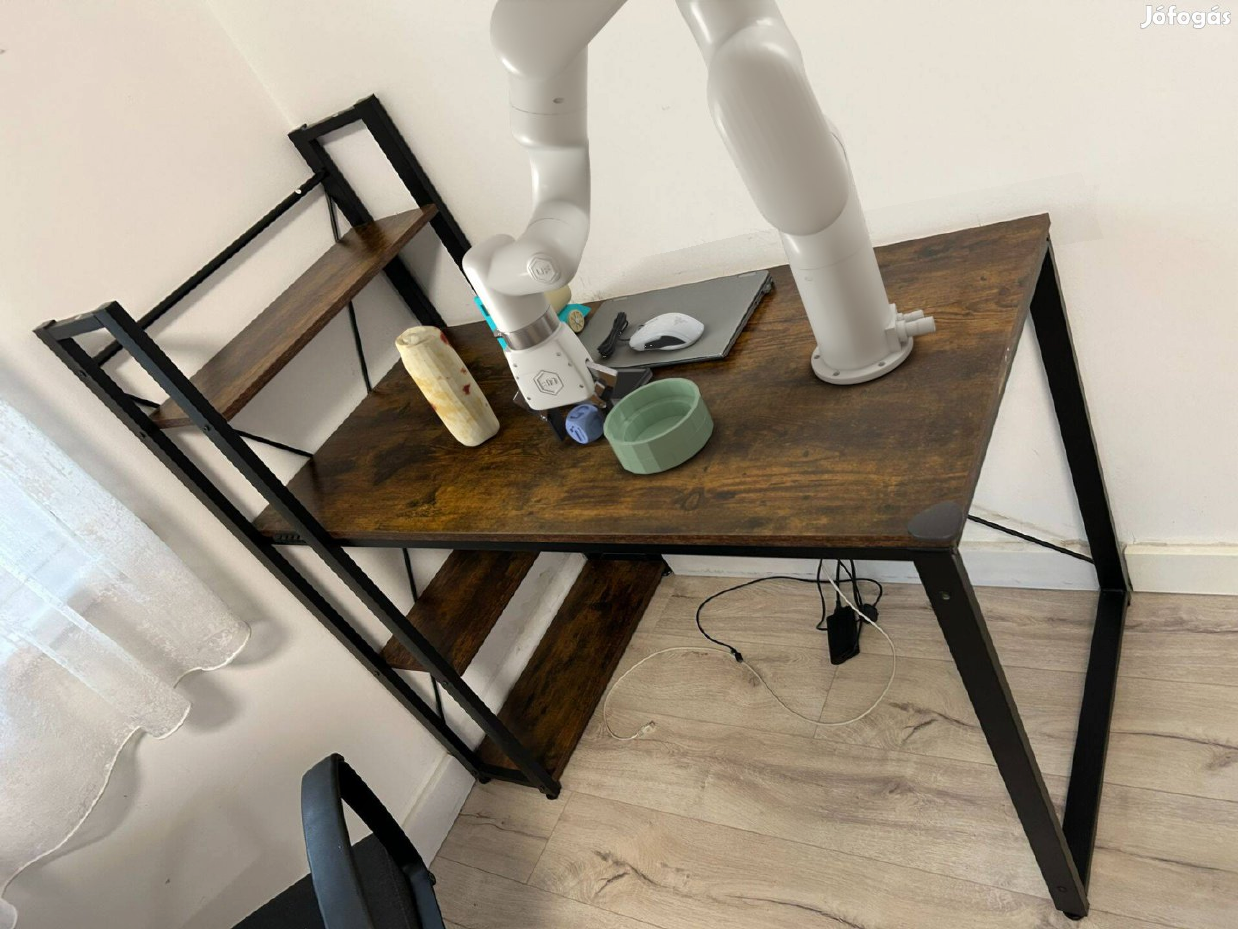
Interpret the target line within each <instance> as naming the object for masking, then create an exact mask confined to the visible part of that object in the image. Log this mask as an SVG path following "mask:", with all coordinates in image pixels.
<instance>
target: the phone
mask: <svg viewBox="0 0 1238 929" xmlns="http://www.w3.org/2000/svg"><path fill="white" fill-rule="evenodd" d="M607 367H608V368H611V369H614V370H616V371H618V373H619V374H618V378H617V381H616V384H615V388H614V390H613V393H612V395H611V397H610V400H611V401H612V403H613V405H614V406H615V405H616V404H617V403H618V402H619V401H621V400H622V399H623V398H624V397H625V396H627V395H628V394H630V393H632V392H633V391H635V390H637V389H638V388H640V387H642V386H645V385H647V384H649V382H650V380H651V379H652V378H653V376H654V374H653V372H652V370H651V368H650V367H649V366H607ZM598 382H599V383H600V384H602V385H603V386H604V387H605V385H606V381H605V380H604V379H601V378H599V380H598ZM594 392H595V393H597V392H596V391H594ZM597 394H598V393H597ZM598 395H599V396H601V395H600V394H598ZM583 404H589V405H592V406H597V405H596V404H595V403H593V402H592V401H590V400H589V399H587V400H584V401H581V402H577V403H573V404H572V405H577V406H580V405H583Z"/></svg>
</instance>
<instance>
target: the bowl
mask: <svg viewBox="0 0 1238 929" xmlns="http://www.w3.org/2000/svg"><path fill="white" fill-rule="evenodd" d="M713 429H714V421H713V416H712V414H711V412H710V409H709V407H708V405H707V403H706V401H705V398H704V397H703V394H702V392H701V390H700V387H699V386H698V385H697V384H696V383H695V382H693V381H692V380H691V379H687V378H683V377H668V378H663V379H659V380H655V381H652V382H650V383H649V382H648V383H647V384H646V385H645V386H642V387H640V388H638V389H637V390H635V391H633V392H632V393H630V394H628V395H627V396H625V397H624V398H623V399H622V400H621V401H619V402H618V403H617V404H616V405H615V406H614V408H613V409H612V410H611V411H610V413H609V414H608V415H607V418H606V420H605V423H604V431H603V435H604V437H605V439H606V440H607V442H608V444H609V446H610V448H611V449H612V451H613V453H614V455H615V457H616V458H617V460H618V462H619V463H620V465H621V466H622V467H623V469H624V470H627V471H628V472H631V473H632V474H642V475H649V474H655V473H661V472H664V471H667V470H669V469H672V468H676V467H678V466H679V465H681V464H683V463H684V462H686V461H687V460H689V459H692V457H694V456H695V455H696V454H697V453H698V452H699V451H700V450H701V449H702V448H704V447H705V445H706V444H707V442H708V440H709V439H710V437H711V436H712V434H713V433H712V432H713Z"/></svg>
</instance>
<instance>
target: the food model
mask: <svg viewBox="0 0 1238 929" xmlns="http://www.w3.org/2000/svg"><path fill="white" fill-rule="evenodd" d="M395 346H396V348H397V350H398V352H399V353H400V357H401V361H402V363H403V366H404V368H405V369H406V371H407V373H408V374H409V375H410V376H411V378H412V379H413V381H414V382H415V383H416V386H418V388H419V389H420V391H421V393H422V394H423V395H424V397H425V398H426V400H427V401H428V403H429V404H430V406H431V407H432V408H433V410H434V411H435V413H436V414H437V415H438V417H439V418H440V419H441V421H442V423H443V424H444V426H446V428H447V430H448V431H449V432H450V433H451V434H452V436H453V437H454V438H455V439H456V440H457V441H458V442H459V443H461V444H463V445H464V446H466V447H477V446H480V444H482V443H484V442H485V441H487V440H488V439H490V438H492V437H494V436H495V435H497V434H498V432H499V429H500V422H499V419H498V418H497V417H496V415H495V413H494V411H493V409H492V407H491V405H490V404H489V401H488V400H487V398H486V396H485V395H484V393H483V392H482V389H481V388H480V387H479V385H478V383H477V382H476V380H475V378H473V375H472V374H471V373H470V371H469V369H468V368H467V365H465V363H464V361H463V359H461V357H460V356H459V354H458V353H457V352H456V350H455V349H454V348H453V346H452V345H451V343H450V342H449V340H448V339H447V337H446V336H445V334H444V333H443V331H442V330H440V329H439V328H438V327H437V326H433V325H417V326H412V327H409V328H407V329H406V330H404V331H402V333H400V335H398V336H397V337H396V339H395Z"/></svg>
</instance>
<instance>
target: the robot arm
mask: <svg viewBox="0 0 1238 929" xmlns="http://www.w3.org/2000/svg"><path fill="white" fill-rule="evenodd" d="M674 1H675V3H676V6H677V8H678V10H679V12H680V14H681V16H682V18H683V19H684V21H685V23H686V26H688V28H689V30H690V32H691V34H692V37H693V39H694V41H695V43H696V45H697V47H698V49H699V51H700V53H701V55H702V58H703V60H704V63H705V66H706V69H707V81H706V99H707V104H708V109H709V113H710V114H711V118H712V121H713V123H714V126H715V128H716V130H717V133H718V135H719V137H720V138H721V141H722V143H723V145H724V146H725V148H726V151H727V152H728V154H729V156H730V158H731V160H732V162H733V164H734V165H735V168H736V169H737V172H738V173H739V175H740V177H741V179H742V181H743V183H744V185H745V187H746V189H747V191H748V193H749V195H750V197H751V199H752V201H753V203H754V204H755V206H756V208H757V211H759V213H760V214H761V216H762V217H763V219H765V221H766V222H767V223H768V224H770V225H771V227H773V228H775V229H776V230H777V232H778V235H779V239H780V241H781V244H782V248H783V251H784V253H785V256H786V258H787V261H788V262H787V263H788V265H789V268H790V271H791V273H792V276H793V279H794V282H795V284H796V287H797V290H798V293H799V296H800V299H801V301H802V304H803V307H804V310H805V312H806V315H807V319H808V322H809V324H810V327H811V330H812V332H813V335H814V338H815V341H816V344H817V346H816V347H815V349H814V350H813V352H812V355H811V358H810V359H811V360H810V363H811V364H810V365H811V367H812V370H813V372H814V374H815V376H817V377H818V379H820V380H822V381H824V382H825V383H830V384H834V385H853V384H861V383H865V382H868V381H871V380H874V379H877V378H879V377H881V376H884V375H886V374H887V373H890V372H891V371H893V370H894V369H896V368H897V367H899V366H900V365H901V364H902V363H903V362H904V361H905V360H906V359H907V357H908V356H909V355H910V353H911V351H912V350H913V346H914V337H915V336H922V335H927V334H931V333H935V332H937V330H936V323H935V319H934V316H933V315H931V316H926V317H925V314H924V310H923V309H919V310H915V311H912V312H908V313H905V314H904V313H903V312H898V309H897V305H896V303H895V302H894V303H890V302H889V298H888V295H887V291H886V288H885V285H884V282H883V278H882V275H881V271H880V269H879V264H878V261H877V257H876V255H875V251H874V247H873V244H872V240H871V237H870V232H869V228H868V225H867V221H866V218H865V214H864V212H863V208H862V204H861V201H860V197H859V194H858V191H857V187H856V183H855V179H854V176H853V172H852V169H851V165H850V161H849V157H848V154H847V149H846V146H845V143H844V139H843V137H842V134H841V132H840V130H839V129H838V127H837V125H836V124H835V123H834V121H832V120H831V118H829V117H828V116H827V115H826V114H825V113H823V111H822V109H821V105H820V104H819V102H818V99H817V97H816V94H815V92H814V90H813V88H812V85H811V83H810V81H809V79H808V76H807V73H806V70H805V63H804V58H803V54H802V52H801V48H800V46H799V43H798V42H797V39H796V38H795V37H794V35H793V34H792V32H791V30H790V28H789V26H788V24H787V23H786V21H785V18H784V17H783V15H782V13H781V10H780V8H779V6H778V4H777V2H776V0H674ZM627 2H628V0H497V1H496V3H495V5H494V8H493V10H492V11H491V12H492V13H491V17H490V22H489V38H490V42H491V47H492V51H493V52H494V54H495V56H496V59H497V60H498V62H499V64H500V65H501V66H502V67H503V69H505V71H506V72H507V73H508V74H507V76H508V78H507V79H508V94H509V95H508V97H509V99H508V100H509V124H510V132H511V135H512V137H513V139H514V140H515V142H516V143H518V145H521V147H522V148H523V149H524V150H525V152H526V154H527V157H528V158H527V159H528V162H529V166H530V174H531V175H530V178H531V198H532V201H531V204H532V208H531V209H532V212H531V218H530V219H529V222H528V224H527V226H526V228H525V230H524V231H523V233H522V234H521V235H520V236H519V237H518V238H517V239H515V238H514V237H513V236H512V235H510V234H507V233H499V234H493V235H491V236H488V237H486V238H484V239H482V240H480V241H478V242H477V243H475V244H474V245H473V246H471V248H469V249H468V250H467V251H466V253H465V254H464V255H463V257H462V261H461V262H462V263H461V264H462V269H463V272H464V274H465V276H466V277H467V279H468V281H469V282H470V284H471V286H472V287H473V289H474V291H475V293H476V295H478V296H479V298H480V299H481V301H482V303H483V304H484V307H485V308H486V310H487V312H488V314H490V316H491V318H492V320H493V321H494V323H495V325H496V326H497V328H496V329H494V331H492V334H493V336H494V338H495V339H497V340H498V338H503V339H504V341H505V342H506V344H507V346H506V348H505V353H506V356H507V358H506V360H507V359H508V360H507V362H508V365H509V368H510V371H511V373H512V376H513V378H514V380H515V382H516V384H517V386H518V391H517V392H516V394H515V395H514V397H513V399H512V400H513V403H514V404H516V405H517V406H520V407H521V408H523V409H525V410H526V412H528V413H530V414H532V415H535V416H537V417H538V419H539V420H540V421H541V422H545V423H546V425H547V426H548V428H549V429H550V431H551V433H552V434H553V435H554V436H555V438H556V439H557V441H558V443H562V442H564V441H565V439H566V438H567V435H568V434H569V433H568V431H567V429H566V418H564V416H563V414H562V412H561V411H560V409H559V407H564V406H569V405H574V404H573V403H577V402H581V401H584V400H587V399H589V400H590V401H592V402H593V403H595V404H596V405H595V406H597V407H598V408H597V409H598V410H597V412H598V414H599V416H600V417H601V419H602V421H603V423H605V420H606V418H607V415H608V414H609V413H610V411H611V410H612V409H613V408H614V405H613V403H612V401H611V400H610V397H611V395H612V393H613V390H614V388H615V384H616V381H617V378H618V374H619V373H618V371H616V370H614V369H611V368H608V367H609V366H605V365H602V364H599V363H596V362H594V360H593V359H592V357H591V355H590V353H589V352H588V350H587V349H586V347H585V346H584V345H583V343H582V341H581V339H579V337H578V336H577V335H576V334H575V333H576V332H573V331H572V330H571V328H570V327H569V326H568V325H567V324H566V323H565V322H560V320H559V318H558V317H557V315H556V313H555V311H554V309H553V307H552V305H551V304H550V302H549V300H548V298H547V296H546V295H545V293H544V292H548V291H553V290H557V289H560V288H562V287H564V286H566V285H567V284H568V285H569V283H571V282H572V281H573V279H574V278H575V276H576V274H577V272H578V269H579V267H580V264H581V260H582V258H583V255H584V254H583V253H584V250H585V249H586V248H585V247H586V245H587V242H588V239H589V235H590V229H591V204H592V203H591V202H592V201H591V200H592V199H591V197H592V195H591V194H592V193H591V192H592V176H591V175H592V174H591V158H590V140H589V134H588V76H589V75H588V74H589V72H588V67H589V66H588V64H589V44H590V43H592V40H593V39H595V37H596V36H597V35H598V34H599V33H600V32H601V31H602V30H603V29H604V27H605V26H606V25H607V24H608V23H609V22H610V21H611V20H612V18H614V16H615V15H616V14H617V13H618V12H619V11H620V9H622V8H623V6H624V5H625V4H626V3H627ZM506 356H505V357H506ZM599 378H601V379H604V380H605V381H606V385H605V387H604V386H603V385H602V384H600V383H599V382H598V380H599ZM594 391H596V392H597V393H598V394H600V395H601V396H599V395H598V394H597V393H595V392H594Z"/></svg>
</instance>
